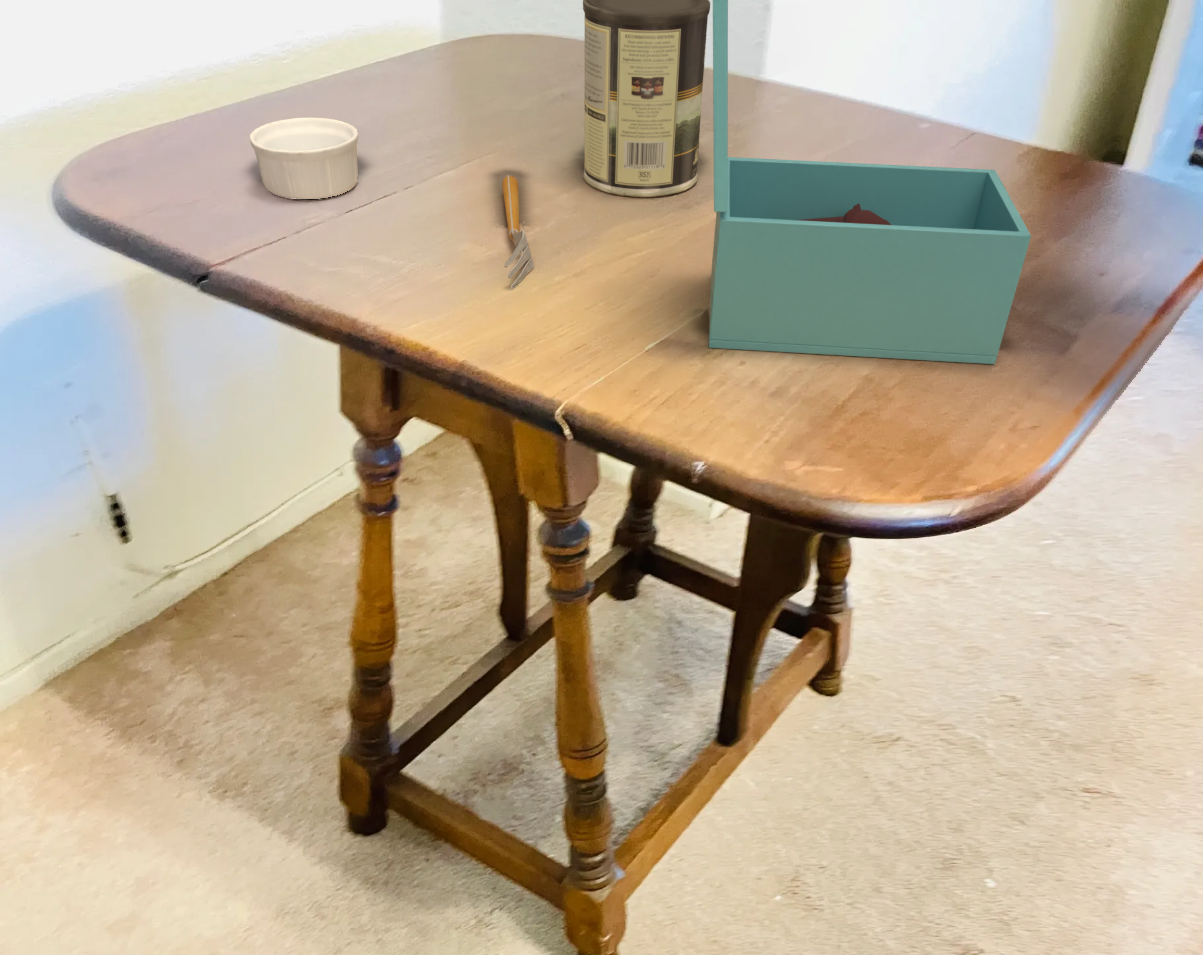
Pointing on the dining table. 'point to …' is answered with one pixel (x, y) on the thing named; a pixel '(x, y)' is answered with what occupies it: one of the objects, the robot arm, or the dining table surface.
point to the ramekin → (307, 157)
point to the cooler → (865, 261)
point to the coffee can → (643, 94)
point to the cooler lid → (720, 103)
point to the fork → (516, 230)
